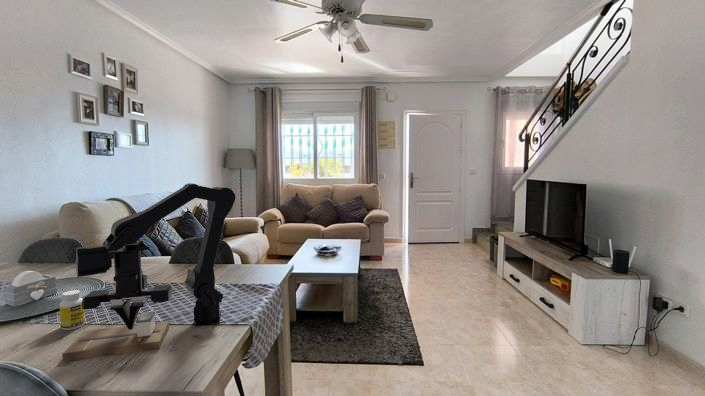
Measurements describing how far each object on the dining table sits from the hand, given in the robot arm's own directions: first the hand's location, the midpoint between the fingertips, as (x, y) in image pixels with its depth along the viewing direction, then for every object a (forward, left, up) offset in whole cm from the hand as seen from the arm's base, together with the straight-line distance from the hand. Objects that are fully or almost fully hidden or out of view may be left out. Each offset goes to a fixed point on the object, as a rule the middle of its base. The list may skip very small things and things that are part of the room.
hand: (131, 328), depth 91 cm
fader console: (+2, 0, -4) cm, 4 cm away
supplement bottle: (+18, -15, -4) cm, 24 cm away
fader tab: (-3, 0, -1) cm, 4 cm away
